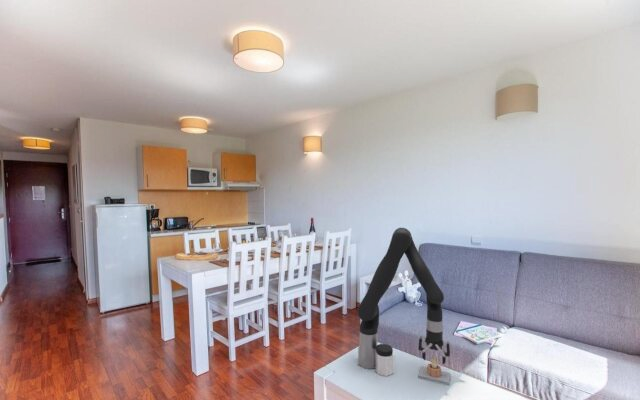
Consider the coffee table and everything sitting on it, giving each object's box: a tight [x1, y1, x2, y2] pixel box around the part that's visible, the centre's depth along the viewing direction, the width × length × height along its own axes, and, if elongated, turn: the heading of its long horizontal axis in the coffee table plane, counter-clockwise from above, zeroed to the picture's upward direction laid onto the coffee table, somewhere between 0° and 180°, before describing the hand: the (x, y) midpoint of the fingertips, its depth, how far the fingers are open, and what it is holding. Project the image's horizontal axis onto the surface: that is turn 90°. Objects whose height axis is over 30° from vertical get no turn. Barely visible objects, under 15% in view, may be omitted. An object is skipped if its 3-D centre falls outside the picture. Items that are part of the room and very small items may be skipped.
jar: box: [375, 343, 394, 377], centre depth 156 cm, size 9×8×12 cm
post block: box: [417, 355, 451, 386], centre depth 152 cm, size 14×9×9 cm, turn 65°
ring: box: [426, 362, 442, 378], centre depth 152 cm, size 6×6×4 cm
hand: (433, 361), depth 152 cm, fingers open, 8 cm apart
